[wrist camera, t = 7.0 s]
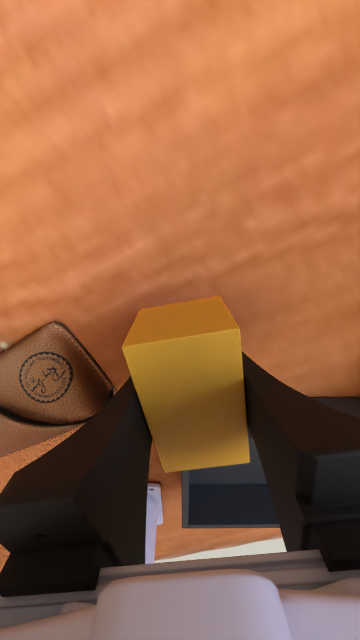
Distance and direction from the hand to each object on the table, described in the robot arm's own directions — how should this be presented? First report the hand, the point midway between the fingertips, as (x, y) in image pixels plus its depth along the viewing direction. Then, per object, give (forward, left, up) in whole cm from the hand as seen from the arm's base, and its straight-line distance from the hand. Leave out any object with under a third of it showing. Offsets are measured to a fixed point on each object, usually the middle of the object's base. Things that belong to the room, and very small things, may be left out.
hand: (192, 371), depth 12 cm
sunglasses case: (-16, -6, -5) cm, 18 cm away
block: (0, 0, -1) cm, 1 cm away
